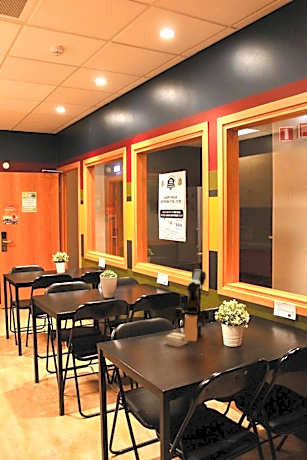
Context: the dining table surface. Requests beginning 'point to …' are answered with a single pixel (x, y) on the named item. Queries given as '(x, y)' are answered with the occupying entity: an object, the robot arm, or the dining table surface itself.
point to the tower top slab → (175, 337)
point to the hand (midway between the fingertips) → (190, 327)
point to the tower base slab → (176, 343)
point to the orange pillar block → (190, 328)
